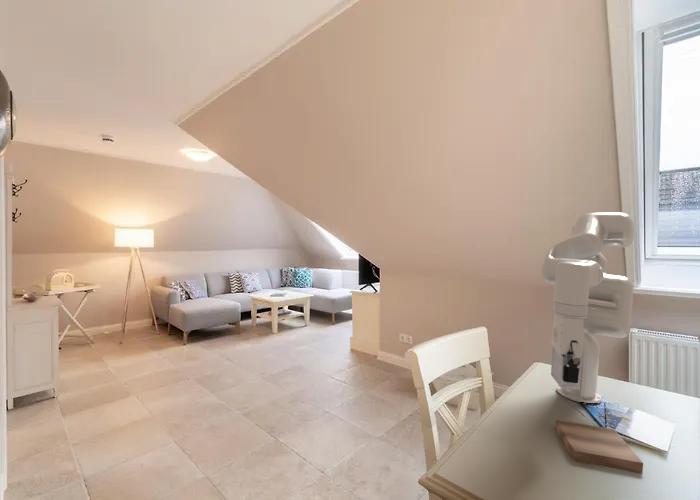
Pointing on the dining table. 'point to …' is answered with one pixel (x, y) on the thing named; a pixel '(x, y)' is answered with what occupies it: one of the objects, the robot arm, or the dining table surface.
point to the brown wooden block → (598, 446)
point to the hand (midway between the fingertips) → (564, 374)
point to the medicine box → (557, 371)
